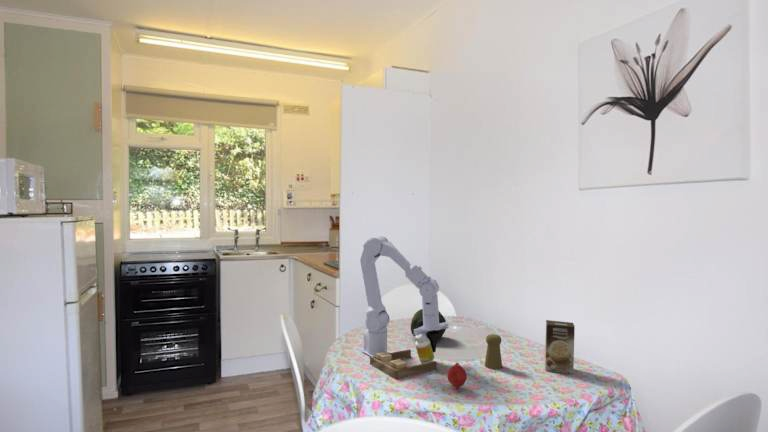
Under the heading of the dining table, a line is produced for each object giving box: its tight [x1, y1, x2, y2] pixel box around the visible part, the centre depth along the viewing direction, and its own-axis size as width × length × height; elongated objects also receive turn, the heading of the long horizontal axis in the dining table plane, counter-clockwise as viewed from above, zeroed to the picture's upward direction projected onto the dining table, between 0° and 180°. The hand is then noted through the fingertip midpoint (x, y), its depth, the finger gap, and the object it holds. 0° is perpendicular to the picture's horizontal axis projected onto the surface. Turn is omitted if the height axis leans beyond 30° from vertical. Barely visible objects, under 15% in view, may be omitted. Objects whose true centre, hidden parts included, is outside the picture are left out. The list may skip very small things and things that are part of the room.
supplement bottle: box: [414, 333, 435, 364], centre depth 158 cm, size 5×5×10 cm
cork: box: [484, 333, 503, 370], centre depth 155 cm, size 6×6×11 cm
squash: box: [410, 308, 447, 341], centre depth 187 cm, size 14×15×15 cm
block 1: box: [376, 352, 392, 366], centre depth 155 cm, size 4×4×4 cm
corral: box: [369, 349, 437, 380], centre depth 154 cm, size 16×17×2 cm
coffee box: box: [544, 319, 576, 375], centre depth 152 cm, size 9×6×16 cm
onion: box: [446, 362, 468, 389], centre depth 135 cm, size 6×6×8 cm
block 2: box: [390, 359, 408, 370], centre depth 147 cm, size 4×4×4 cm
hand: (432, 351), depth 159 cm, fingers closed, pressing on supplement bottle
